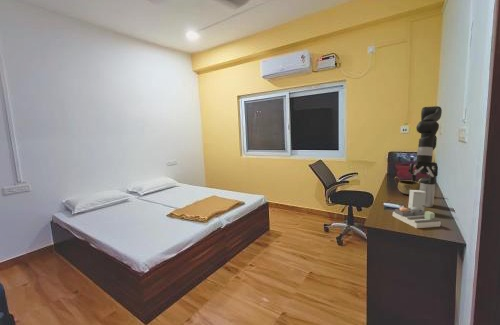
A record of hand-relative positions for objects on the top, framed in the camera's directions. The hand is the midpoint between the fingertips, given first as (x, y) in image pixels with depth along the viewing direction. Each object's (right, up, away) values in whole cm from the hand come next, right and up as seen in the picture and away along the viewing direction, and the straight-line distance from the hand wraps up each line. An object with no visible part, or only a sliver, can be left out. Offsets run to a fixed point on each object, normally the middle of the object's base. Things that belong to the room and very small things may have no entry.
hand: (421, 182), depth 142 cm
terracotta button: (0, -21, +16) cm, 26 cm away
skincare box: (+17, -23, +30) cm, 42 cm away
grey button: (+8, -21, +17) cm, 28 cm away
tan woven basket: (+39, -17, +72) cm, 83 cm away
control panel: (+4, -26, +12) cm, 29 cm away
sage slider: (+9, -23, +6) cm, 26 cm away
